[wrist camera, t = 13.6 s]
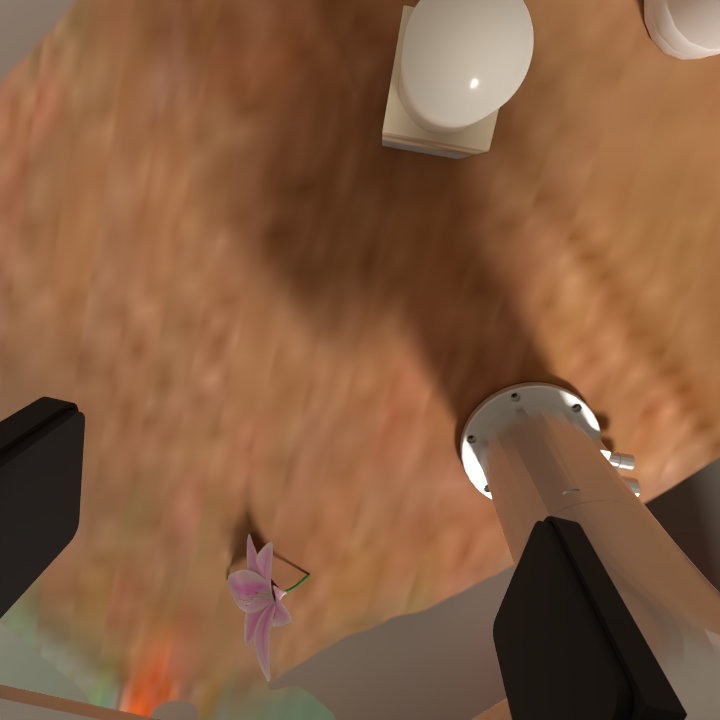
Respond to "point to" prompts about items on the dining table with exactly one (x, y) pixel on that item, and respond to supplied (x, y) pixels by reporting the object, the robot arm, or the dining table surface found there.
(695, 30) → the bottle
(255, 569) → the lily
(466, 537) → the dining table surface
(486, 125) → the tower top
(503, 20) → the cylinder
